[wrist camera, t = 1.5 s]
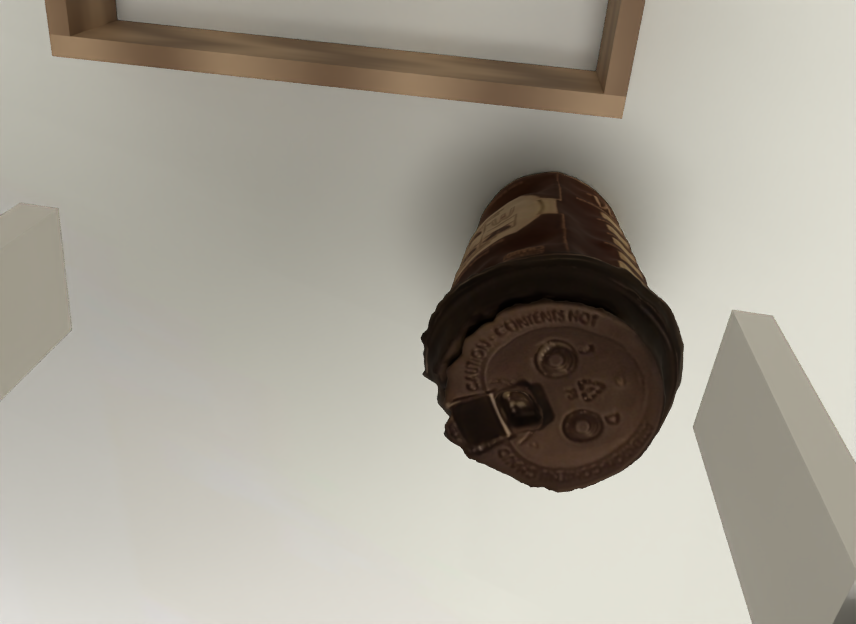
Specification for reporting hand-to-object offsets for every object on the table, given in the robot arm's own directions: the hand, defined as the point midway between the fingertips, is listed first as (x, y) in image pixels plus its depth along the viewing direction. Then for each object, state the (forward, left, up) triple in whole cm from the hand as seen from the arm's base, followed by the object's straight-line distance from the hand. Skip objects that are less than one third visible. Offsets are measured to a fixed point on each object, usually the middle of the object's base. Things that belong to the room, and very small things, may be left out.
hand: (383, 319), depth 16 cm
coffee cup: (+4, -6, -20) cm, 22 cm away
